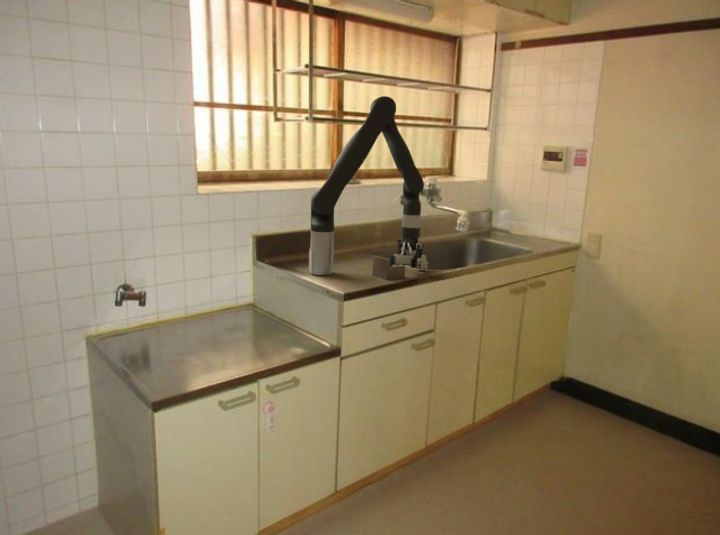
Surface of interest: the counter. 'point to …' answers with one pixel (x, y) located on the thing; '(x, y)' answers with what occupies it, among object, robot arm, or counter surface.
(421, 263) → the grey piece
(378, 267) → the cup bracket
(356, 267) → the counter surface
